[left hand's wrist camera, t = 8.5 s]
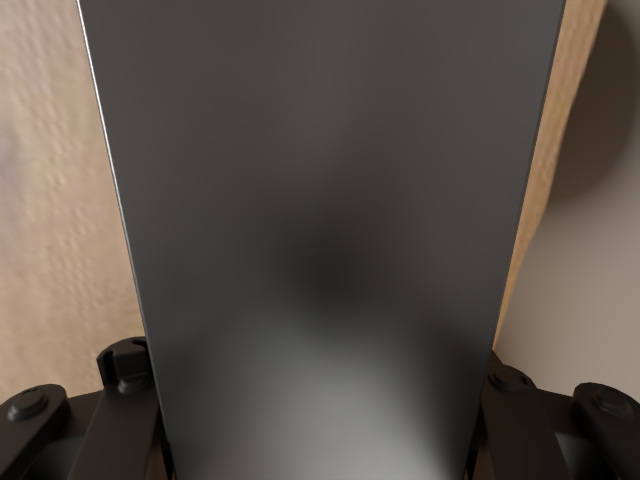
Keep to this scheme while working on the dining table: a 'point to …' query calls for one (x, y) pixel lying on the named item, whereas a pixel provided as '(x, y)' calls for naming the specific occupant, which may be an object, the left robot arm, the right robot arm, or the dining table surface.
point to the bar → (320, 219)
